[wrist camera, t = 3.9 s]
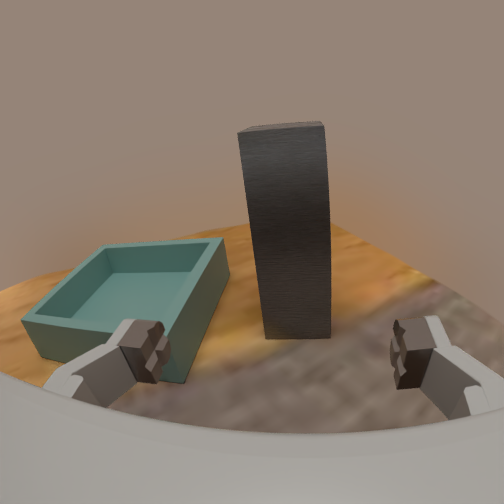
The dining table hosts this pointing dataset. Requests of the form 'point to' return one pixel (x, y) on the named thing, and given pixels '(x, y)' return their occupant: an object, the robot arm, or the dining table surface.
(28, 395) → the robot arm
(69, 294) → the tray
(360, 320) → the dining table surface
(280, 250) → the brushed steel pillar
